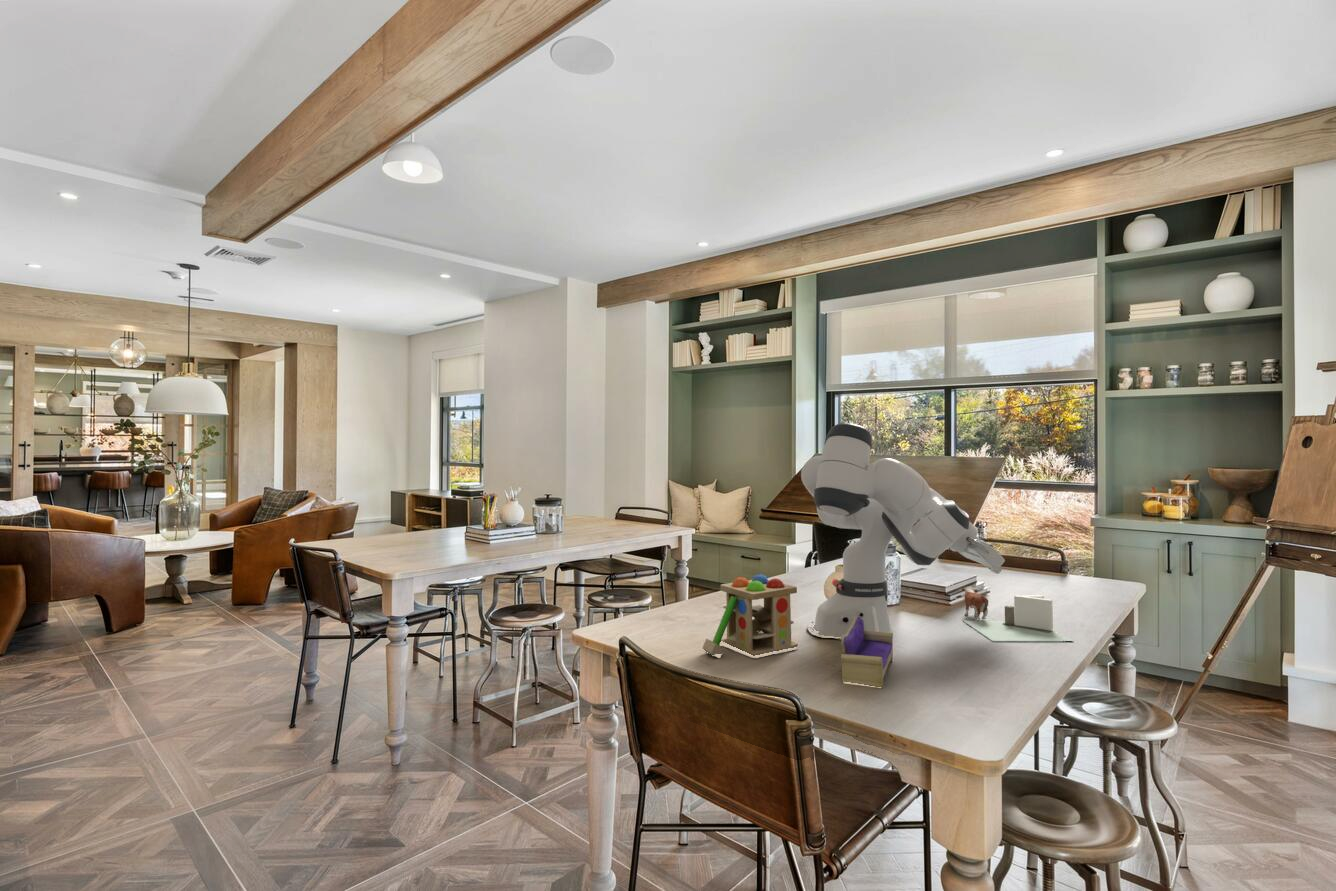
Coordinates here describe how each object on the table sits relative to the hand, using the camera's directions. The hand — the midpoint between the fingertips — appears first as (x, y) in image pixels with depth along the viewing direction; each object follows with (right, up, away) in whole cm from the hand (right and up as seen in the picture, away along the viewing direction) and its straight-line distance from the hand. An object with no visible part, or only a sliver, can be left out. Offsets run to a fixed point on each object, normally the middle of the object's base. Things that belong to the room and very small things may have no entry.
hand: (997, 571), depth 179 cm
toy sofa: (-44, -17, -31) cm, 57 cm away
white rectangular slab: (+10, -15, 0) cm, 18 cm away
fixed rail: (+10, -16, +4) cm, 19 cm away
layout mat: (+4, -16, -1) cm, 17 cm away
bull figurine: (0, -16, +14) cm, 21 cm away
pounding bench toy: (-70, -18, -13) cm, 73 cm away
